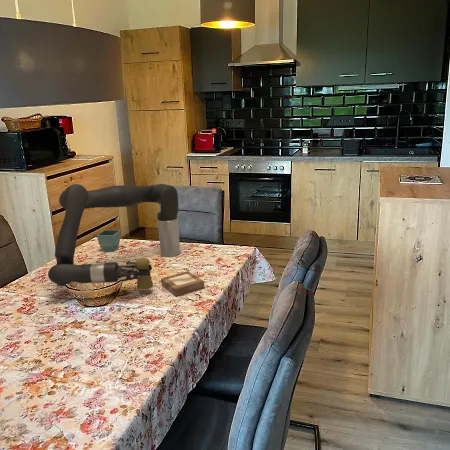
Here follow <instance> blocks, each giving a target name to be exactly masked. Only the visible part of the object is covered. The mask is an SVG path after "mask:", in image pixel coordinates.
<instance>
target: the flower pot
mask: <svg viewBox="0 0 450 450" xmlns="http://www.w3.org/2000/svg"><path fill="white" fill-rule="evenodd" d="M96 239H97V242H98V245H99V247H100V248H101V250H102V251H104V252H114V251H115V250H116V249H118V248H119V246H120V242H121V230H120V229H114V230H113V229H109V230H108V229H105V230H104V229H103V230H102V231H101V232H98V234H96Z"/></svg>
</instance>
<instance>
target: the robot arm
mask: <svg viewBox="0 0 450 450" xmlns="http://www.w3.org/2000/svg"><path fill="white" fill-rule="evenodd" d="M58 202H59V205H60V206H61V207H62V208H63V209H65V215H64V217H63V221H62V224H61V227H60V229H59V232H58V235H57V238H56V243H55V249H54V257H55V261H56V264H55V265H52V266H51V267H50V268H49V270H48V272H47V278H48V279H49V280H50V282H52V283H54V284H55V285H57V286H60V287H66V286H65V284H68V285H70V283H74V282H75V283H79V284H95V283H97V284H103V283H106V284H107V283H118V282H119V280H120V282H126V281H127V282H128V281H133V280H137V277H140V276H145V275H151V271H152V269H153V267H152V264H149V269H142V270H140V271H139V270H137V267H136V265H135V263H136V261H126V262H125V263H126V264H123V265H122V264H121V265H119V263H118V262H117V261H108V262H96V263H90V264H89V263H87V264H75V262H74V261H75V260H74V259H75V258H74V257H75V253H76V246H77V240H78V234H79V231H80V230H79V228H80V225H81V224H80V223H81V221H82V217H83V213H84V211H85V210H86V209H94V208H95V209H96V208H123V207H124V208H126V207H132V206H136V205H138V204H141V203H142V204H143V203H156V204H159V205H160V211H159V212H158V213H156V214H157V215H156V216H157V229H158V238H159V239H158V240H159V250H160V251H159V252H160V255H161V256H162V257H168V258H170V257H175V256H178V255H180V253H181V248H180V247H181V246H180V235H179V234H180V233H179V222H178V214H179V194H178V189H176V187H175V186H173V185H169V184H166V183H158V184H151V185H144V186H143V185H127V184H125V185H122V184H121V185H111V186H107V187H102V188H99V189H94V190H87V189H86V188H85V186H83V185H81V184H78V183H74V184H71V185H69V186H67V187H66V188H65V189H64V190H63V191H62V192H61V194H60V195H59V197H58Z"/></svg>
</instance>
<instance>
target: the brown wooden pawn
mask: <svg viewBox="0 0 450 450" xmlns="http://www.w3.org/2000/svg"><path fill="white" fill-rule="evenodd" d="M135 262H136V263H135V265H136V267H137V270H139V271H140V270H142V269H149V264H150V260H149V259H148V258H145V257H140V258H138V259H136V260H135ZM152 279H153V278H152V276H151V274H150V275H145V276H140V277H137V279H136V288H137V289H138V290H143V291H144V290H148V289H151V288H153V286H154V284H153V281H152Z"/></svg>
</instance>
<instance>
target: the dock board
mask: <svg viewBox="0 0 450 450" xmlns="http://www.w3.org/2000/svg"><path fill="white" fill-rule="evenodd" d="M160 281H161V287H163V288H164V289H166V290H167V291H168V292H169V293H171V294H172V295H173V296H175V297H176V298H178V297H181V296H185V295H187V294H190V293H194V292H198V291H201V290H204V289H205V281H204V280H203V279H202V278H200V277H198V276H197V275H195V274H194V273H192V272H190V271H189V270H188V271H185V272H179V273H176V274H173V275H170V276H169V275H168V276H165V277H163V278H161V280H160Z"/></svg>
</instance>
